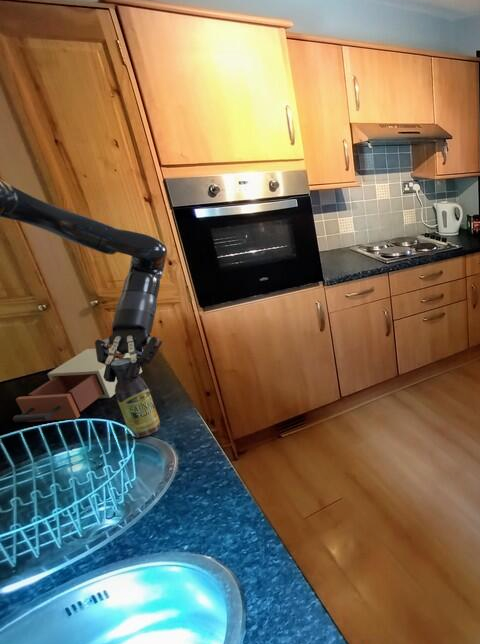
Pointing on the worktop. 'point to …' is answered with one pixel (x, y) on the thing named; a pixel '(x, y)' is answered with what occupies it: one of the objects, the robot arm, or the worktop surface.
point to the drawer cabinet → (87, 370)
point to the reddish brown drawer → (60, 398)
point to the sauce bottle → (135, 401)
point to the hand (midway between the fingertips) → (120, 380)
